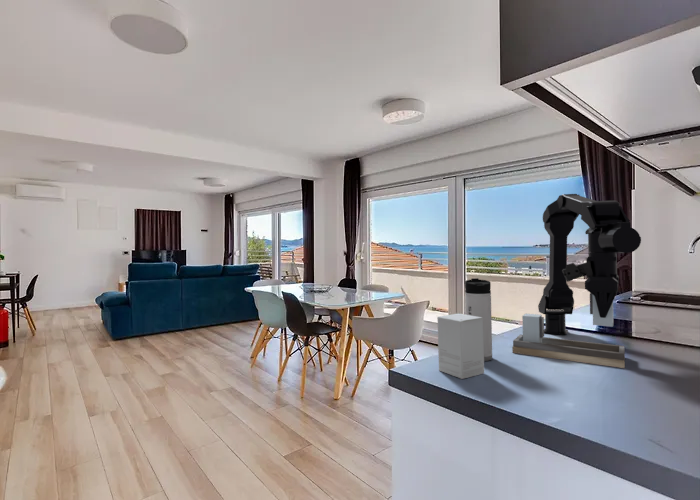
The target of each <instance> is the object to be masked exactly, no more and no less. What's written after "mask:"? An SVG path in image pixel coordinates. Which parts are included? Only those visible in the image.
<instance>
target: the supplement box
mask: <svg viewBox="0 0 700 500" xmlns="http://www.w3.org/2000/svg"><path fill="white" fill-rule="evenodd" d="M437 346H438V347H437V349H438V371H440V372H442V373H445V374H448V375H450V376H453V377H455V378H458V379H461V380H463V379H467V378H471V377H476V376H479V375H483V374H485V361H484V344H483V318H482V317H476V316H471V315H465V314H463V313H452V314H447V315H441V316H437Z"/></svg>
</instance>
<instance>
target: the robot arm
mask: <svg viewBox="0 0 700 500" xmlns="http://www.w3.org/2000/svg"><path fill="white" fill-rule="evenodd" d="M579 216H581V217H580V219H581V220H582V221H583V222H584V224H586V225H587V226H588V228H587V229H586V230H585V232H584V233H585V235H587V239H588V240H587V242H588V244H587V246H588V251H587V252H588V256H587V257H586V262H583V263H579V264H577V265H576V263H574V262H572V263H569V264H567V262H568V261H567V260H568V236H569V235H570V234H571V232H572V231H573V229H574V227H575V221H576V220H577V218H578V217H579ZM542 223H543V224H544V225H543V226H544V227H543V228H544V230H545V231H546V232H547V234H548V236H549V266H548V267H549V272H548V274H549V278H548V282H547V284H546V285H545V286H544V288H543V291H542V295H541V297H540V300H539V303H538V306H537V307H538V313H540V314H541V315H544V317H545V318H544V334H552V335H561V336H566V335H567V333H568V332H569V329H566V327H567V326H566V315H573V311H574V306H575V299H574V290H573V289H572V288H570V286H569V285H568V282H572V281H573V280H575V279H580V278H583V277H586V280H585V281H584V289H585V290H586V291H587V292H589V294H590V293H591V294H593V295H594V296H595V300H596V303H597V307H598V311H599V315H600V317H601V318H606V316H607V314H608V311H609V309H610V307H611V305H612V302H613V303H614V300H615V298H616V295H617V293H618V291H619V284H620V280H619V279H620V278H619V275H618V262H617V261H618V259H617V257H618V256H617V255H618V254H619V253H620V254H628V253H629V254H630V253H633V252H635V251H636V250H638V248H639V247H640V246H641V243H642V237H641V235H640V234H639V232H638V231H637V230H636V229H635V228H633V227H632V225H631V221H630V219H629V218H628V216H627V215H626V213H625V211H624V209H623V207H622V206H621V203H620V202H618V200H594V199H591V198H588V197H584V196H582V195H581V194H577V193H564V194H563V193H562V194H560V195H559V196H558V197H557V198H556V200H554V201H553V202H551V203H550V204H548V205H547V206H546V208H545V209H544V211H543V214H542Z"/></svg>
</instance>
